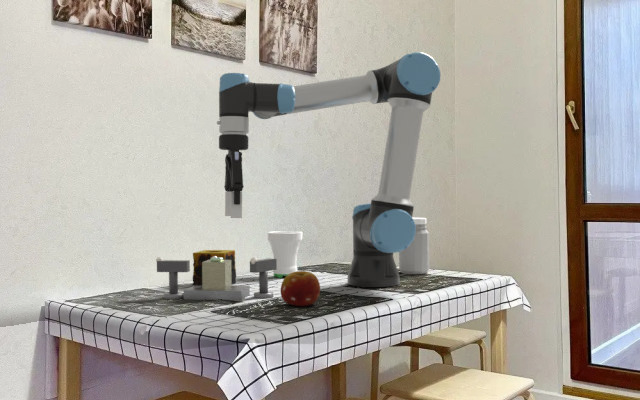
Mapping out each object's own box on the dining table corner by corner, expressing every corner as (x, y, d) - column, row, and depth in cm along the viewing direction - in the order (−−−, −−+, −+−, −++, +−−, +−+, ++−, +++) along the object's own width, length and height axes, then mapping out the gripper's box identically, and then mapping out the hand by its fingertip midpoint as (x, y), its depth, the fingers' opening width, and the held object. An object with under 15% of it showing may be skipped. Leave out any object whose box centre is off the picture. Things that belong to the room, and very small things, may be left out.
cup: (309, 275, 217) (309, 231, 216) (289, 279, 207) (289, 233, 207) (281, 273, 223) (281, 230, 223) (260, 277, 213) (260, 232, 213)
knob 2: (266, 293, 179) (265, 254, 179) (280, 295, 176) (280, 255, 176) (244, 298, 172) (244, 257, 172) (259, 300, 169) (259, 258, 169)
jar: (408, 270, 229) (407, 217, 228) (434, 272, 223) (433, 217, 223) (393, 273, 221) (393, 218, 220) (420, 275, 215) (420, 218, 215)
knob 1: (191, 296, 176) (191, 256, 176) (185, 299, 171) (185, 257, 171) (160, 295, 177) (159, 255, 177) (153, 298, 172) (152, 257, 172)
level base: (249, 294, 178) (249, 254, 178) (241, 300, 169) (241, 257, 169) (194, 294, 180) (194, 254, 180) (183, 299, 171) (183, 257, 171)
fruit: (288, 309, 156) (288, 275, 156) (275, 304, 164) (274, 271, 164) (326, 306, 160) (326, 273, 160) (311, 301, 168) (311, 269, 168)
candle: (225, 288, 192) (225, 253, 191) (191, 287, 194) (191, 252, 193) (237, 283, 202) (236, 249, 201) (205, 282, 204) (204, 249, 203)
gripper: (214, 137, 185) (214, 215, 185) (223, 129, 161) (223, 218, 161) (242, 138, 187) (241, 215, 187) (255, 130, 163) (254, 218, 163)
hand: (233, 217), depth 174 cm, fingers open, 13 cm apart
